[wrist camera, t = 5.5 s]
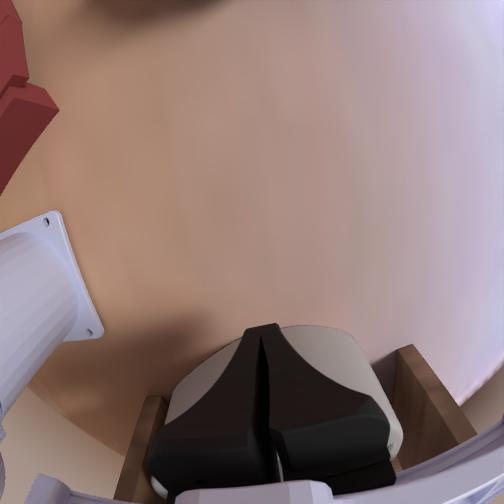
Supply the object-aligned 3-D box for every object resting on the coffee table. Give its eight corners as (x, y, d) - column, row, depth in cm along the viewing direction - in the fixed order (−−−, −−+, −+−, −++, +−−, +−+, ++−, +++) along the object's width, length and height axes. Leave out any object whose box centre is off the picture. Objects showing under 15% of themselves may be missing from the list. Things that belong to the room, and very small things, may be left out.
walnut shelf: (193, 468, 21) (182, 576, 10) (146, 396, 18) (101, 541, 7) (399, 429, 20) (444, 531, 9) (412, 344, 17) (501, 473, 6)
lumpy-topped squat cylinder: (151, 398, 18) (120, 502, 10) (303, 283, 16) (354, 405, 7) (253, 459, 21) (256, 547, 12) (390, 378, 18) (440, 472, 10)
